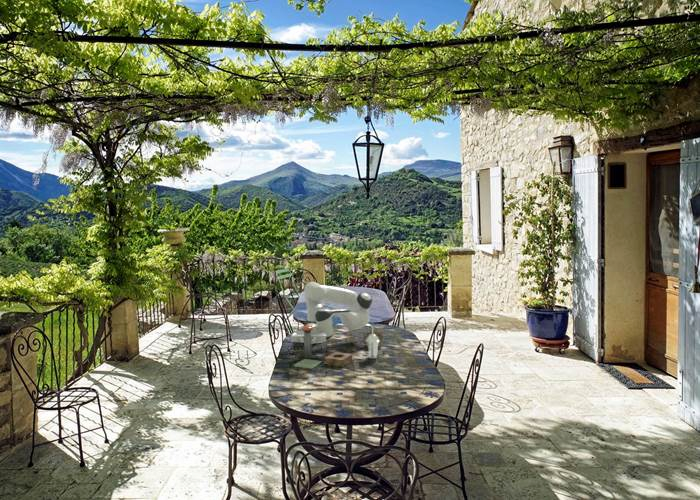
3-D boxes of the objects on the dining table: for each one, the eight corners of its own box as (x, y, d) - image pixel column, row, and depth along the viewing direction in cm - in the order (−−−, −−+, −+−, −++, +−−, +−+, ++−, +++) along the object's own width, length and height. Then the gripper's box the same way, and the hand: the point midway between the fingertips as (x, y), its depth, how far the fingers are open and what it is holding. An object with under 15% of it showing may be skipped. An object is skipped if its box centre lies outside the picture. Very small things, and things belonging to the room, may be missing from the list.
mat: (293, 366, 300) (293, 364, 300) (304, 360, 310) (304, 358, 310) (311, 368, 294) (311, 367, 294) (322, 362, 305) (322, 361, 305)
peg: (300, 357, 302) (299, 327, 300) (308, 354, 306) (307, 325, 304) (307, 359, 297) (306, 329, 295) (316, 356, 302) (315, 327, 300)
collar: (324, 364, 301) (324, 357, 301) (334, 358, 312) (334, 352, 311) (343, 367, 296) (342, 360, 295) (352, 360, 306) (352, 354, 306)
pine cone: (383, 343, 341) (383, 328, 340) (384, 347, 331) (384, 332, 330) (349, 344, 341) (349, 329, 340) (349, 348, 332) (348, 333, 331)
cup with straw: (376, 360, 307) (375, 326, 305) (362, 358, 311) (361, 325, 309) (382, 356, 314) (381, 323, 312) (369, 354, 319) (368, 321, 317)
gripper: (327, 339, 314) (326, 346, 300) (293, 340, 314) (290, 346, 300) (327, 329, 313) (325, 335, 299) (292, 330, 313) (289, 336, 300)
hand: (307, 341), depth 300 cm, fingers closed on peg, 4 cm apart
